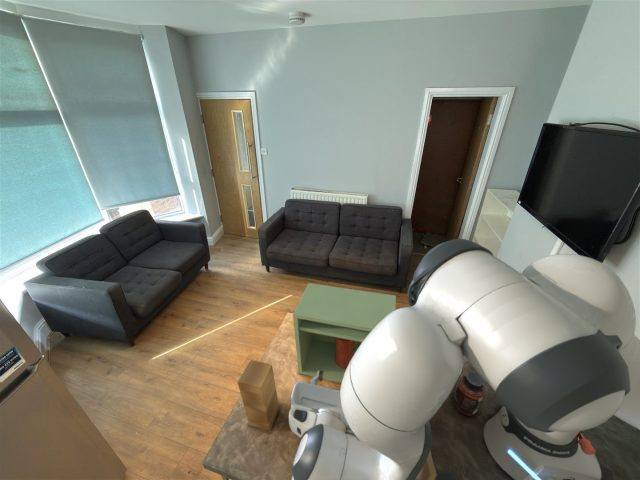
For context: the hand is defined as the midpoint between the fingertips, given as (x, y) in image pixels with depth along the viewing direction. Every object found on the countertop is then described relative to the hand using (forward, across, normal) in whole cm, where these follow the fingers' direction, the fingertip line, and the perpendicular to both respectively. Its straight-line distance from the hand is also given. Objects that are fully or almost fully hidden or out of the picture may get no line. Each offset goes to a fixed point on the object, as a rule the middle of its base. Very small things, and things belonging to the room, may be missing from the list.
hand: (337, 376), depth 70 cm
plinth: (-10, +18, +9) cm, 22 cm away
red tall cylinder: (+11, 0, +8) cm, 14 cm away
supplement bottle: (+6, -34, +9) cm, 36 cm away
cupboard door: (-9, -19, +9) cm, 23 cm away
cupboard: (+11, 0, +9) cm, 14 cm away
